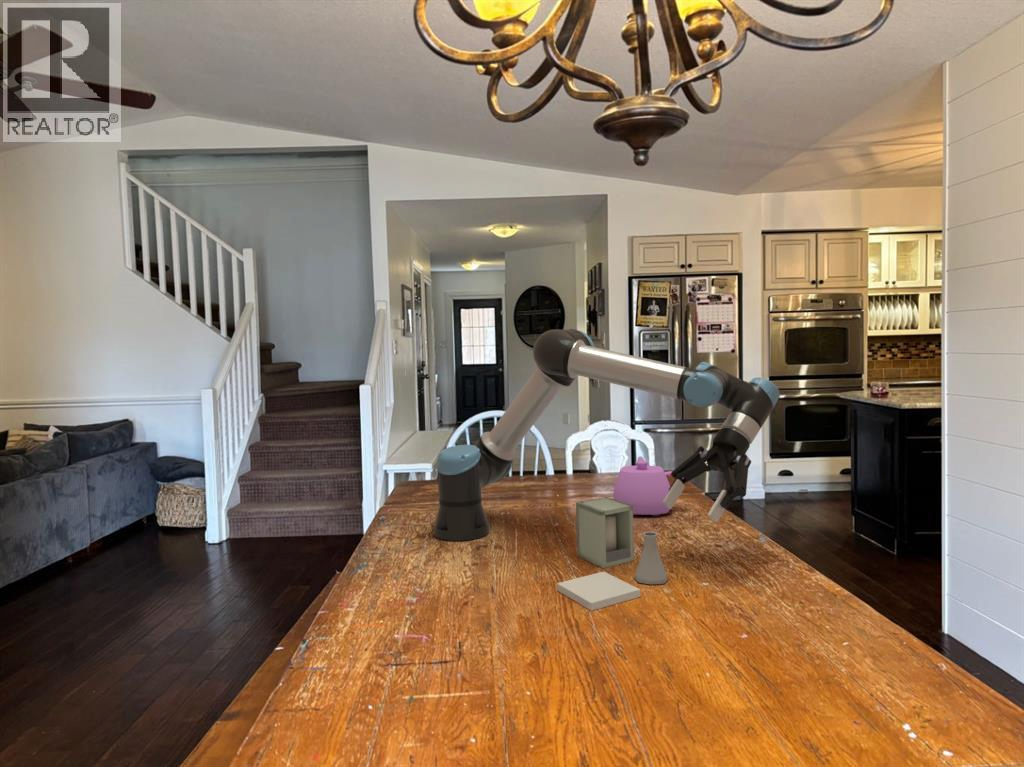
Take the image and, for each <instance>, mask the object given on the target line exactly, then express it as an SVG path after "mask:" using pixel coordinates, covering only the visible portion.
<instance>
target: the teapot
mask: <svg viewBox="0 0 1024 767" xmlns="http://www.w3.org/2000/svg"><path fill="white" fill-rule="evenodd" d="M648 464H649V461H647V460H645V459H644V457H643V456H638V457H637V461H635V465H624V466H621V468H620V470H619V473H618V475H617V478H616V481H615V483H614V488H613V493H612V494H613V496H612V499H614V500H617V501H620V502H623V503H627V504H630V505H633V516H636V515H642V516H643V515H645V516H648V515H650V516H653V517H654V516H655V517H659V516H660V515H664V514H667V513H669V511H670V510H671V509H669V508H668V507H667V506H666V505H665V504H664V503H663V502H662V501H663V500H664V498H665V497H666V495H667V494H668V492H669V488H670V487H671V485H670V482H669V479H668V477H669V476H671V477H673V476H672V475H671V472H672V471H673V470H669V471H665V470H664V468H663V467H662V466H660V465H648ZM682 479H684V477H683V478H682Z"/></svg>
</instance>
